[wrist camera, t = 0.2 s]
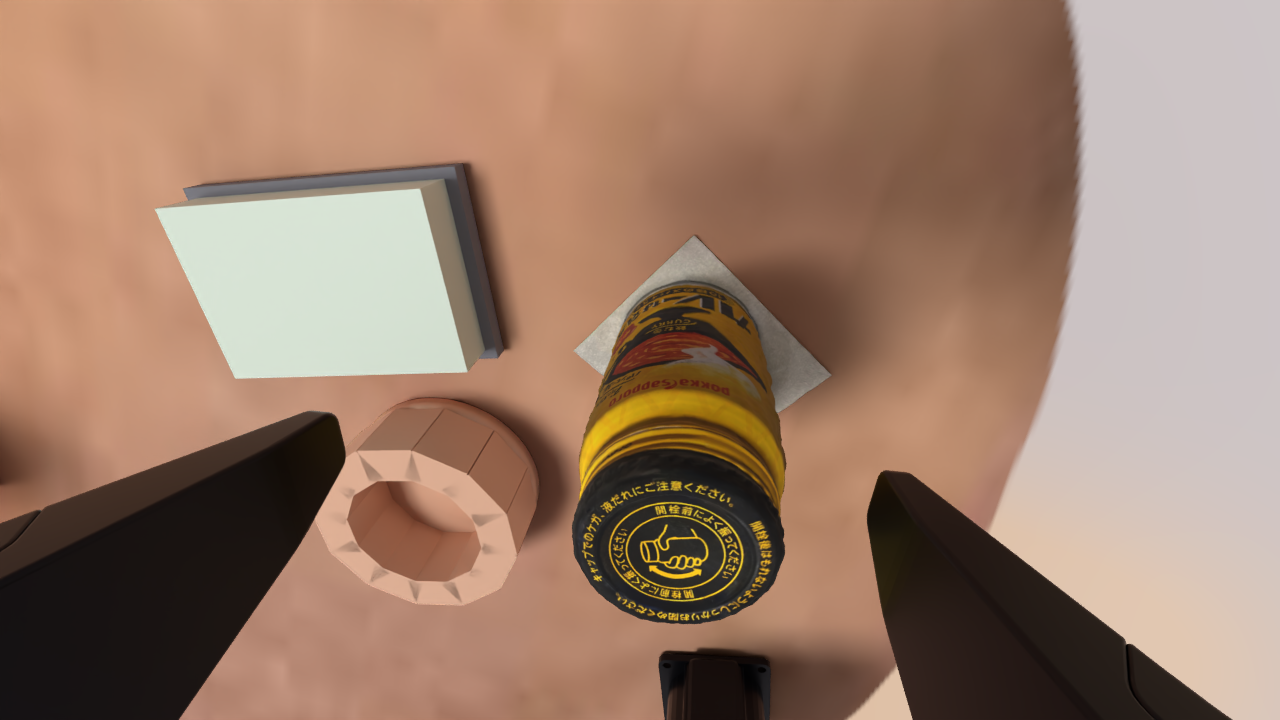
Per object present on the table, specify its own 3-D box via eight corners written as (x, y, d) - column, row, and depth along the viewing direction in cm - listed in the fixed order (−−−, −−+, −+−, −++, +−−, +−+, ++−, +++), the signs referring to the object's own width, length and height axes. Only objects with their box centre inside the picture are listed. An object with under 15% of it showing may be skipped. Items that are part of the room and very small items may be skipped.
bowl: (552, 541, 30) (530, 607, 26) (394, 539, 31) (352, 601, 28) (521, 395, 26) (490, 449, 22) (340, 399, 27) (283, 451, 24)
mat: (503, 349, 25) (498, 358, 24) (273, 357, 27) (261, 365, 26) (462, 163, 21) (454, 166, 21) (199, 185, 23) (182, 188, 22)
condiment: (693, 233, 22) (679, 387, 11) (831, 373, 24) (927, 613, 13) (574, 348, 25) (473, 556, 14) (705, 463, 27) (703, 720, 16)
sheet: (485, 350, 24) (467, 372, 22) (267, 357, 26) (235, 378, 24) (444, 178, 21) (419, 188, 19) (198, 198, 22) (154, 208, 21)
